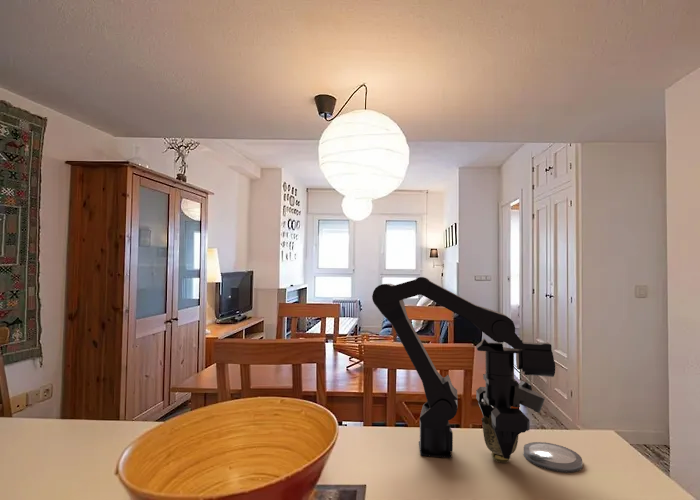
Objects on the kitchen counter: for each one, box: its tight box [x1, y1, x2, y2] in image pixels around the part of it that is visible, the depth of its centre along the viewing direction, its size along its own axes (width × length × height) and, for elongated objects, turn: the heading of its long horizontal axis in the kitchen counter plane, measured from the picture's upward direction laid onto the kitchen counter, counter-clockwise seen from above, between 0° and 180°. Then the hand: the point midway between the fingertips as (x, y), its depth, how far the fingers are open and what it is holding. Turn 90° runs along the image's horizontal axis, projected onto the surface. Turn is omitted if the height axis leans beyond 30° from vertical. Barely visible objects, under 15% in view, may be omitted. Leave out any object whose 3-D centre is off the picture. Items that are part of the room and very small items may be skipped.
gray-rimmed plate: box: [523, 441, 583, 474], centre depth 81 cm, size 11×11×1 cm
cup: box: [481, 415, 519, 464], centre depth 80 cm, size 8×7×8 cm
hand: (500, 448), depth 80 cm, fingers open, 9 cm apart
